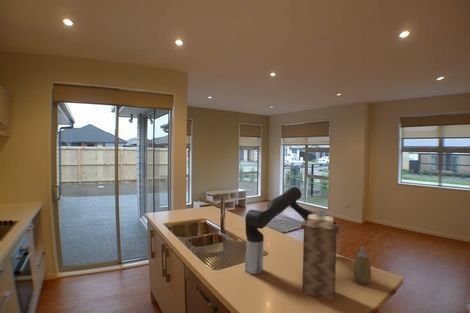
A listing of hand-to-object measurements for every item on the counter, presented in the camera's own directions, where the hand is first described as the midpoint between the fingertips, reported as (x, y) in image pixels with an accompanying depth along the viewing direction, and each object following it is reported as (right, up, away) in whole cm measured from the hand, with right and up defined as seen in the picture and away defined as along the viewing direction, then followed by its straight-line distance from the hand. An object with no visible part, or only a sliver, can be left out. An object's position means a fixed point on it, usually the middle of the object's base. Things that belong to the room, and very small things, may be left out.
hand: (322, 220), depth 129 cm
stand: (-8, -29, -17) cm, 35 cm away
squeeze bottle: (+18, -30, -7) cm, 36 cm away
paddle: (-5, +3, -13) cm, 14 cm away
